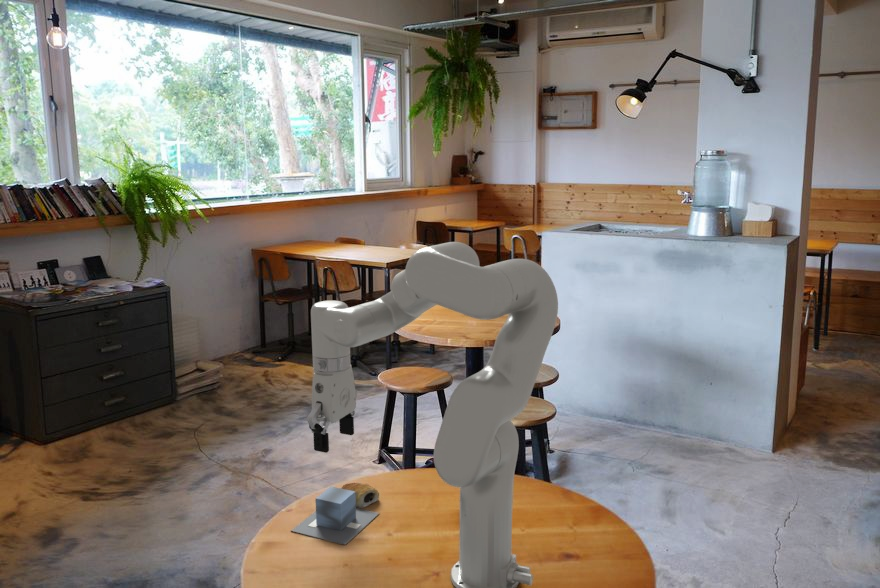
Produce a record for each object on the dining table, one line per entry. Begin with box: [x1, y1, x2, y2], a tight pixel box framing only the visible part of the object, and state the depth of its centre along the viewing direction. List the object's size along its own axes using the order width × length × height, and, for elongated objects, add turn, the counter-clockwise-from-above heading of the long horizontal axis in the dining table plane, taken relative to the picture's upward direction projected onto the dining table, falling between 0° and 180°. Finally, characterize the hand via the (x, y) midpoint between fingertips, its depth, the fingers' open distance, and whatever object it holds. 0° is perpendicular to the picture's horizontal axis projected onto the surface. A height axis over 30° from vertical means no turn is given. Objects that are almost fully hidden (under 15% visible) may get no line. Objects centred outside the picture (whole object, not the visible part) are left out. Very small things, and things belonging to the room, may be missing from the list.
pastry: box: [341, 482, 380, 509], centre depth 172 cm, size 9×7×4 cm
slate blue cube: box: [315, 486, 357, 531], centre depth 160 cm, size 6×6×6 cm
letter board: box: [290, 507, 380, 546], centre depth 161 cm, size 13×14×1 cm
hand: (334, 442), depth 157 cm, fingers open, 9 cm apart
